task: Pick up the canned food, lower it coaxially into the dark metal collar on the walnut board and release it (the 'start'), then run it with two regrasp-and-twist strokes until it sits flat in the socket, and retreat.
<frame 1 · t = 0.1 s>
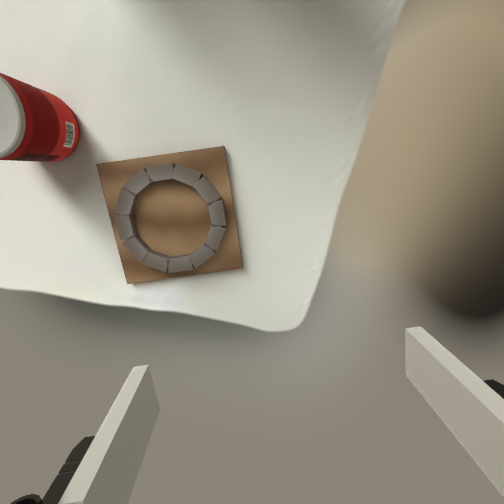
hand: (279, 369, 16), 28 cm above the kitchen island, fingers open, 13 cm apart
socket board: (175, 217, 41), on the kitchen island
canned food: (51, 128, 38), on the kitchen island
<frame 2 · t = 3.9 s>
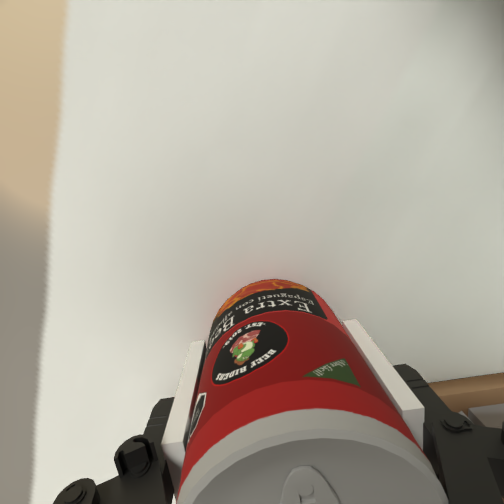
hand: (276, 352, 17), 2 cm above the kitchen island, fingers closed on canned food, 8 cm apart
socket board: (474, 470, 22), on the kitchen island
canned food: (273, 334, 19), on the kitchen island, touching gripper
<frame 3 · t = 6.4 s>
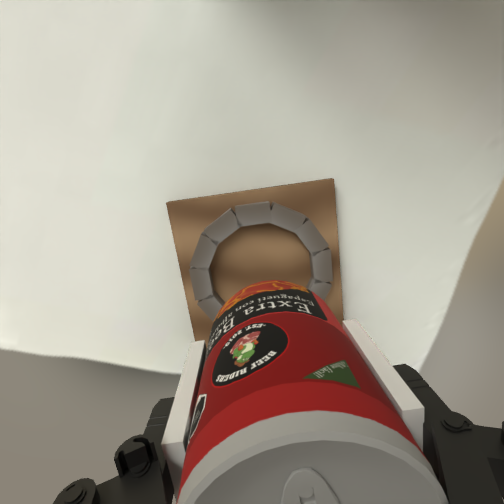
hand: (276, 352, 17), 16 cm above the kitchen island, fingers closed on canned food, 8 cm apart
socket board: (260, 266, 32), on the kitchen island
canned food: (273, 335, 19), point 14 cm above the kitchen island, touching gripper
when the fingers open (5 cm above the kitchen island, at t = 9.2 s): canned food drops 2 cm, resting on socket board.
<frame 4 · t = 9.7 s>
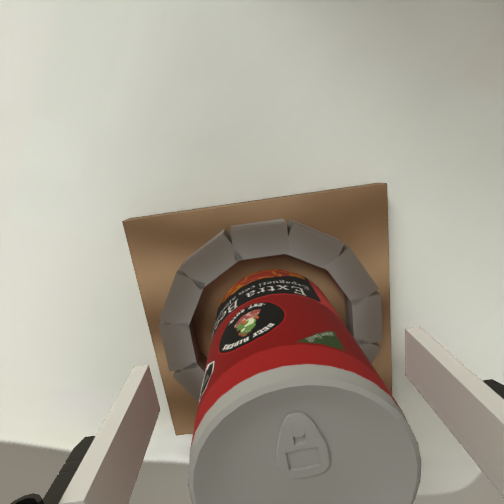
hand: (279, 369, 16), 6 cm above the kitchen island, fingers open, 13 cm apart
socket board: (269, 314, 22), on the kitchen island
canned food: (272, 320, 21), point 1 cm above the kitchen island, touching socket board
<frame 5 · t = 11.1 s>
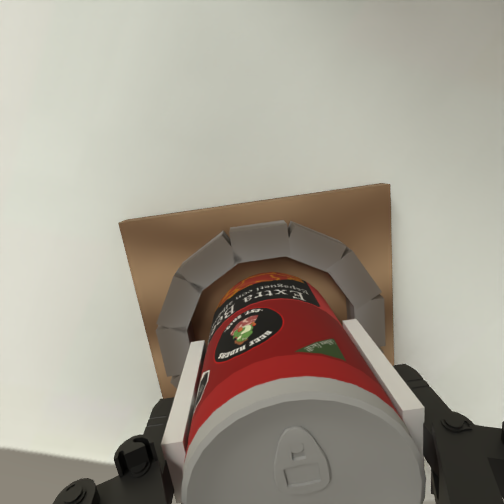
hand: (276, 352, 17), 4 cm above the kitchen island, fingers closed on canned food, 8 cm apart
socket board: (269, 317, 21), on the kitchen island
canned food: (271, 324, 20), point 1 cm above the kitchen island, touching gripper, socket board
when the fingers open (5 cm above the kitchen island, at t = 12.3 s): canned food stays where it is, resting on socket board.
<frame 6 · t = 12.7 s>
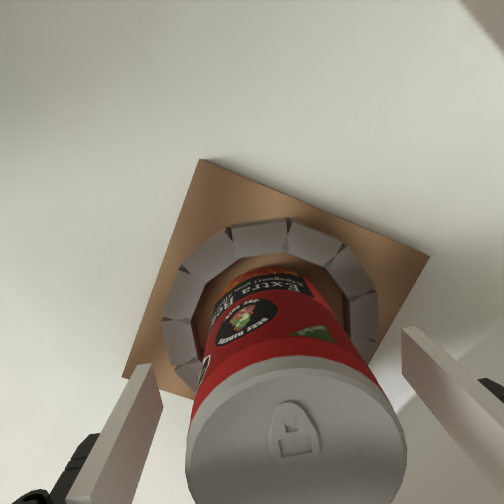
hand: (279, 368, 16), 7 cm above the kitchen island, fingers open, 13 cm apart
socket board: (268, 311, 22), on the kitchen island
canned food: (268, 317, 21), point 1 cm above the kitchen island, touching socket board
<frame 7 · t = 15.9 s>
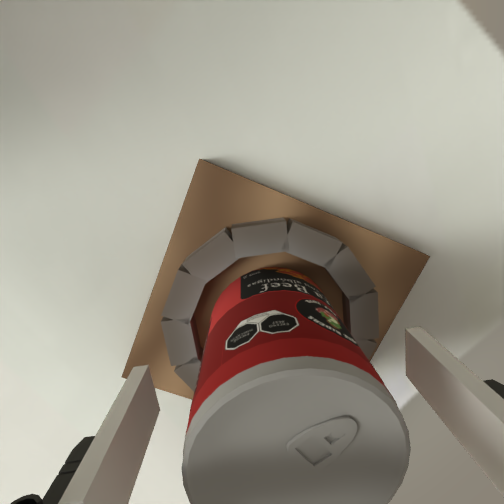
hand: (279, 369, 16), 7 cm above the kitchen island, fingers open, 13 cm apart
socket board: (268, 311, 22), on the kitchen island
canned food: (268, 316, 21), point 1 cm above the kitchen island, touching socket board
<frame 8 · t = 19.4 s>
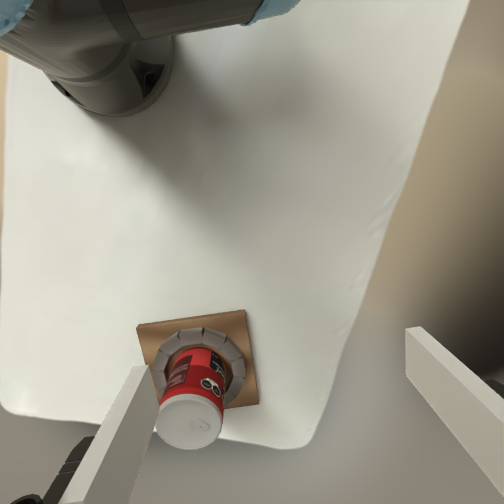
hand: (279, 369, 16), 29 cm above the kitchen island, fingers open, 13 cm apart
socket board: (201, 363, 48), on the kitchen island
canned food: (200, 366, 47), point 1 cm above the kitchen island, touching socket board
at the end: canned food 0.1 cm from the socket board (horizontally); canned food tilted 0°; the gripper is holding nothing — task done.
